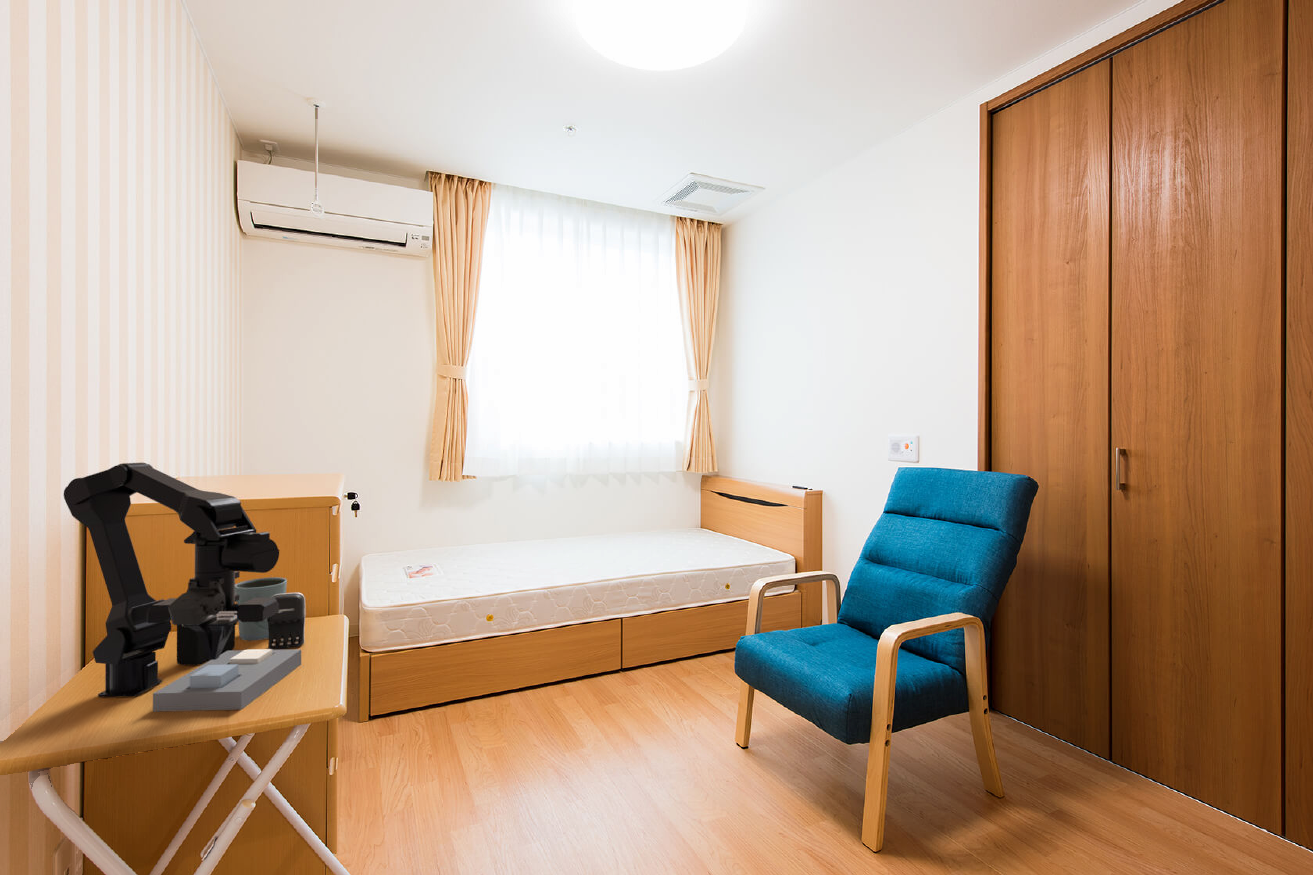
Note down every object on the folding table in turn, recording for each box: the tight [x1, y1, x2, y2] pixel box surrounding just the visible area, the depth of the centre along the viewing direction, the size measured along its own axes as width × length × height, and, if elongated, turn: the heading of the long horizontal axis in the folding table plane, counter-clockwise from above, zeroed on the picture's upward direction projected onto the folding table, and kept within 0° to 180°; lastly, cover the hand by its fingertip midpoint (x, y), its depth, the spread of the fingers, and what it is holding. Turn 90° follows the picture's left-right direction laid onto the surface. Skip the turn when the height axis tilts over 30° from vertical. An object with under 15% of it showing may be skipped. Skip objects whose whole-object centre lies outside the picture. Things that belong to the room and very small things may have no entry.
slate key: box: [190, 664, 239, 689], centre depth 106 cm, size 5×5×2 cm
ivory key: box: [230, 648, 273, 664], centre depth 117 cm, size 5×5×2 cm
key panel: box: [152, 648, 302, 712], centre depth 112 cm, size 14×20×3 cm
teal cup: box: [235, 576, 288, 642], centre depth 140 cm, size 10×10×12 cm
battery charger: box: [267, 592, 306, 650], centre depth 132 cm, size 7×4×11 cm, turn 111°
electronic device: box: [176, 609, 236, 666], centre depth 126 cm, size 4×10×10 cm, turn 174°
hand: (214, 658), depth 106 cm, fingers closed
